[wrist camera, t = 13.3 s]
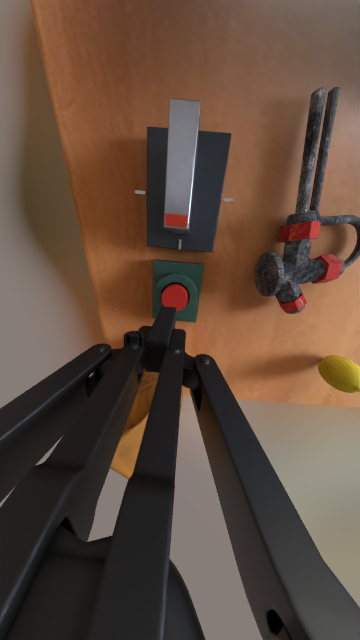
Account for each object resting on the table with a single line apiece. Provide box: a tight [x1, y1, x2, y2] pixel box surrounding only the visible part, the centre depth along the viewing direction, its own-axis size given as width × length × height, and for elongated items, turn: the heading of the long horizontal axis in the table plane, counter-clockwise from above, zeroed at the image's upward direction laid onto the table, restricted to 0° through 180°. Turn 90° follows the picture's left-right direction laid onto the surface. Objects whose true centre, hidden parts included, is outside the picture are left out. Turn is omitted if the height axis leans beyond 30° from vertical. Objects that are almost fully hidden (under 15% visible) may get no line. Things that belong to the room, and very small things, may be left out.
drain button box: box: [153, 259, 204, 322], centre depth 28 cm, size 10×8×4 cm
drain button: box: [161, 284, 188, 311], centre depth 26 cm, size 4×4×2 cm
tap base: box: [135, 127, 234, 252], centre depth 23 cm, size 13×13×3 cm
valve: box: [255, 87, 360, 314], centre depth 23 cm, size 6×26×15 cm
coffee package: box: [110, 368, 184, 480], centre depth 26 cm, size 10×12×22 cm
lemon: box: [318, 355, 360, 393], centre depth 30 cm, size 6×6×8 cm
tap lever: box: [164, 99, 201, 235], centre depth 18 cm, size 9×2×8 cm, turn 175°
